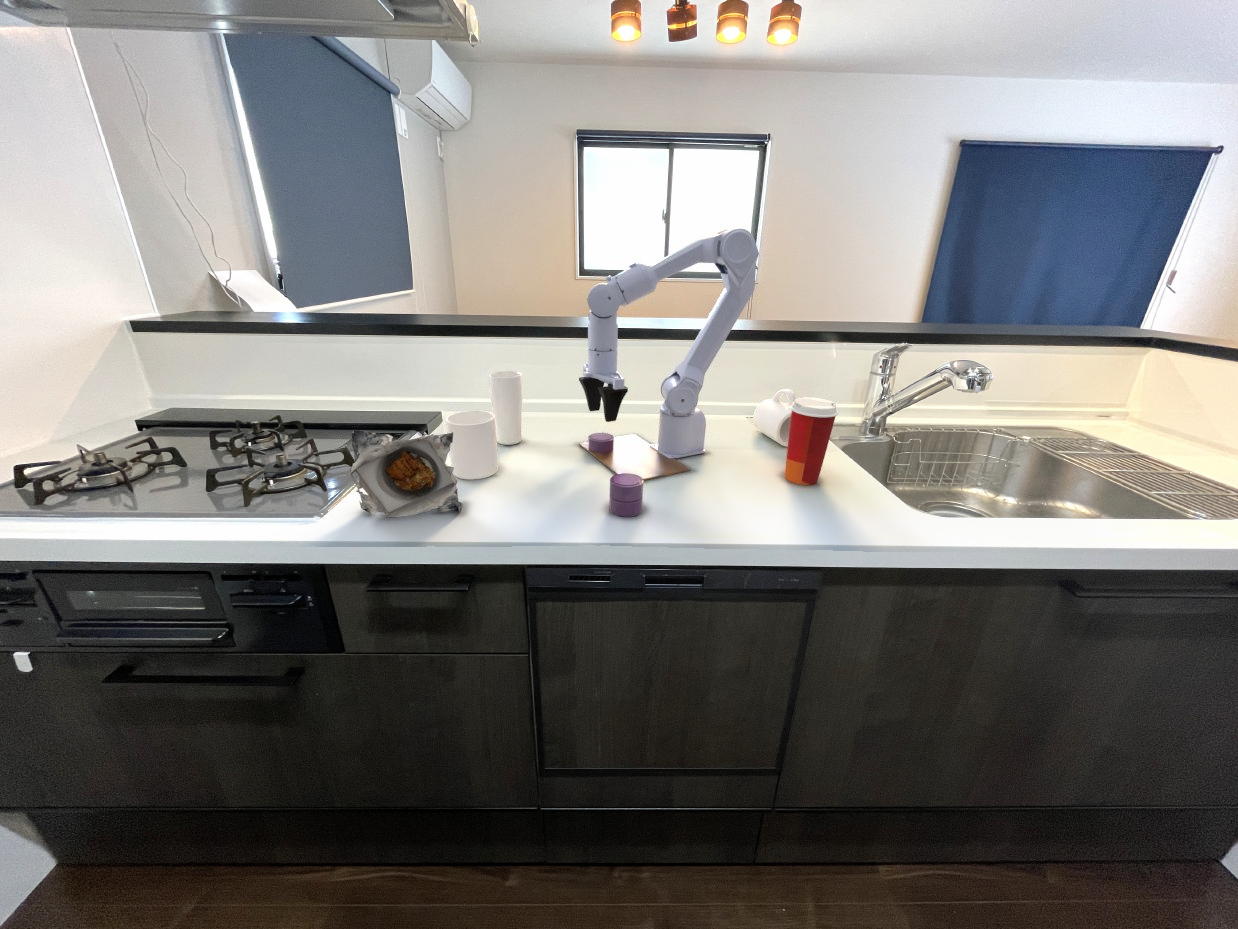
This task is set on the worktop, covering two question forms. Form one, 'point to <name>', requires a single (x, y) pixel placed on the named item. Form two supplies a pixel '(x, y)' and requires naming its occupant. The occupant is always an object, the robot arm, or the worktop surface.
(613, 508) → the dish bottom
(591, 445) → the dish top
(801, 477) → the coffee cup
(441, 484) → the meal
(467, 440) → the mug
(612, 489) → the dish middle
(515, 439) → the drinking glass
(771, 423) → the mug
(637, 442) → the mat
